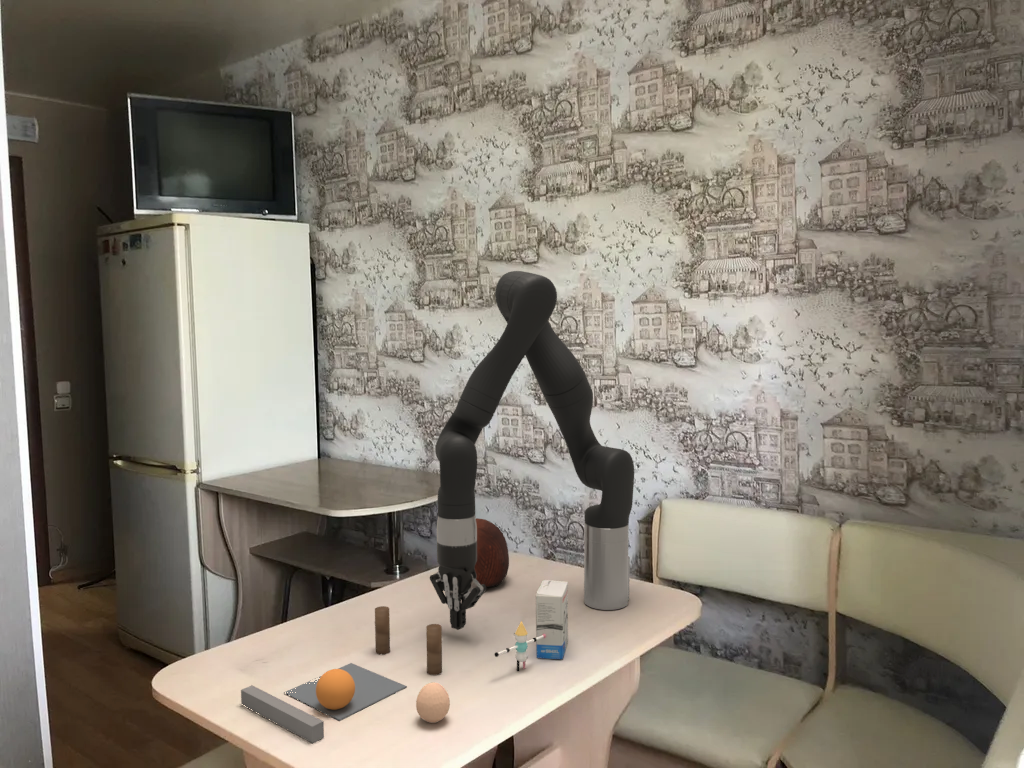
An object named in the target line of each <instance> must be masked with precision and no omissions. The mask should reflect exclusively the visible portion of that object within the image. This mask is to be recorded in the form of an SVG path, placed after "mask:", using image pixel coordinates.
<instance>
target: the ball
mask: <svg viewBox="0 0 1024 768" xmlns="http://www.w3.org/2000/svg"><path fill="white" fill-rule="evenodd" d="M319 677H320V676H319ZM354 693H355V683H354V680H353V678H352V676H351V675H350V674H349V673H348V672H346V671H344V670H342V669H338V668H333V669H330V670H327V671H326V672H324V673H323V674H322V675H321V677H320V679H319V680H318V683H317V686H316V696H317V699H318V701H319V702H320V704H321V705H322V706H324V707H325V708H327V709H331V710H337V709H341V708H343V707H345V706H346V705H347V704H348V703H349V702H350V701H351V700H352V698H353V696H354Z"/></svg>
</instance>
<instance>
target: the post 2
mask: <svg viewBox="0 0 1024 768" xmlns="http://www.w3.org/2000/svg"><path fill="white" fill-rule="evenodd" d="M425 628H426V629H425V630H426V635H425V636H426V673H427V674H428V675H430V676H437V675H440V674H442V673H443V641H442V639H443V637H442V636H443V633H442V631H443V629H442V624H439V623H430V624H427V625H426V627H425Z"/></svg>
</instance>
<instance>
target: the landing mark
mask: <svg viewBox="0 0 1024 768" xmlns="http://www.w3.org/2000/svg"><path fill="white" fill-rule="evenodd" d="M337 669H342V670H344V671H346V672H348V673H349V674H350V675H351V676H352V678H353V680H354V683H355V693H354V696H353V698H352V700H351V701H350V702H349V703H348V704H347V705H346V706H345V707H343V708H341V709H337V710H331V709H327V708H325V707H324V706H322V705H321V704H320V702H319V701H318V699H317V696H316V686H317V683H318V681H317V680H315V681H317V682H315V681H314V682H310V681H311V680H309V681H307V682H304V683H305V684H304V683H302V684H300V685H298V686H295V687H292V688H291V689H288V690H287V691H284V692H283V694H284V693H285V692H286V694H288V695H290V696H292V697H293V698H292V697H291V698H292V699H294V698H295V699H294V700H296V699H298V700H300V701H301V702H300V701H299V702H300V703H302V702H303V704H304V703H306V704H307V705H306V704H305V705H306V706H308V705H309V707H310V706H311V707H310V708H312V707H314V708H316V709H317V710H316V709H315V710H316V711H318V710H319V712H320V711H321V713H322V712H323V714H324V713H325V715H326V714H327V715H326V716H328V715H329V717H330V716H331V718H333V719H335V720H337V721H338V722H341V721H342V720H344V719H346V718H348V717H350V716H352V715H354V714H356V713H358V712H361V711H362V710H364V709H366V708H368V707H370V706H372V705H374V704H376V703H378V702H380V701H382V700H384V699H387V698H388V697H390V696H392V695H394V694H396V693H398V692H400V691H403V690H404V689H406V688H407V685H406V684H403V683H400V682H398V681H395V680H394V679H391V678H388V677H387V676H384V675H381V674H379V673H376V672H374V671H371V670H369V669H367V668H365V667H362V666H360V665H357V664H355V663H352V662H350V663H347V664H345V665H343V666H340V667H339V668H337ZM321 676H322V675H321ZM321 676H320V675H319V676H318V677H319V678H320V677H321ZM318 680H319V679H318ZM306 683H307V684H306ZM309 683H310V684H309ZM314 683H315V684H314ZM295 688H296V689H295ZM291 690H292V691H291ZM287 692H288V693H287ZM290 692H291V693H290ZM292 692H293V693H292ZM295 692H296V693H295ZM286 694H285V695H286ZM288 695H287V696H288ZM290 696H289V697H290ZM298 700H297V701H298ZM314 708H313V709H314Z"/></svg>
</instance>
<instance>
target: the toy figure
mask: <svg viewBox="0 0 1024 768" xmlns="http://www.w3.org/2000/svg"><path fill="white" fill-rule="evenodd" d="M528 634H529V633H528V631H527V629H526V626H525V624H524V623H523V621H522V620H521V621H520V623H519V624H518V626H517V628H516V630H515V632H514V633H513V636H514V639H515V641H516V642H515V644H514V646H511V647H506V649H504V650H500V651H499V652H496V651H495V652H494V654H493V656H494V657H495V658H498V657H499V656H501V655H503V654H506V653H507V654H508V653H509V652H511V651H513V650H516V651H515V654H514V657H515V660H516V672H520V665H521V664H520V663H522V669H523V670H525V669H526V660H527V659H528V656H529V655H528V651H527V650H528V644H532V643H536V641H537V640H539V639H542V638H546V635H545V634H543V635H542V636H539V637H537V638H536V637H533V638H532V639H529V640H528V638H529V636H528Z"/></svg>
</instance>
